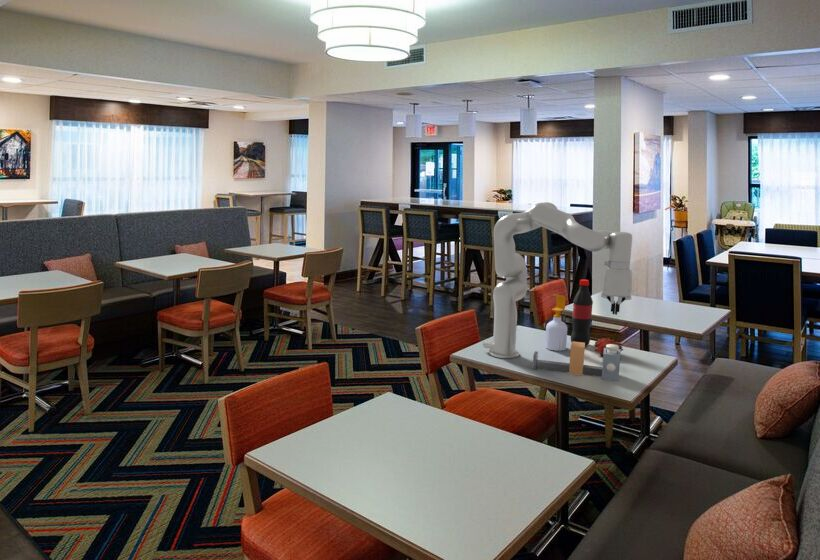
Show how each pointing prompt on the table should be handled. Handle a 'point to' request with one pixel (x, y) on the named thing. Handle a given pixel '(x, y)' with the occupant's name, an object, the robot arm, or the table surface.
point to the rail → (563, 367)
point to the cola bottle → (582, 314)
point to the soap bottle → (557, 328)
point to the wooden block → (577, 358)
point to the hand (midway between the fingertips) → (614, 313)
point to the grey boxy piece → (611, 365)
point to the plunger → (612, 348)
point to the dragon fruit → (604, 345)
